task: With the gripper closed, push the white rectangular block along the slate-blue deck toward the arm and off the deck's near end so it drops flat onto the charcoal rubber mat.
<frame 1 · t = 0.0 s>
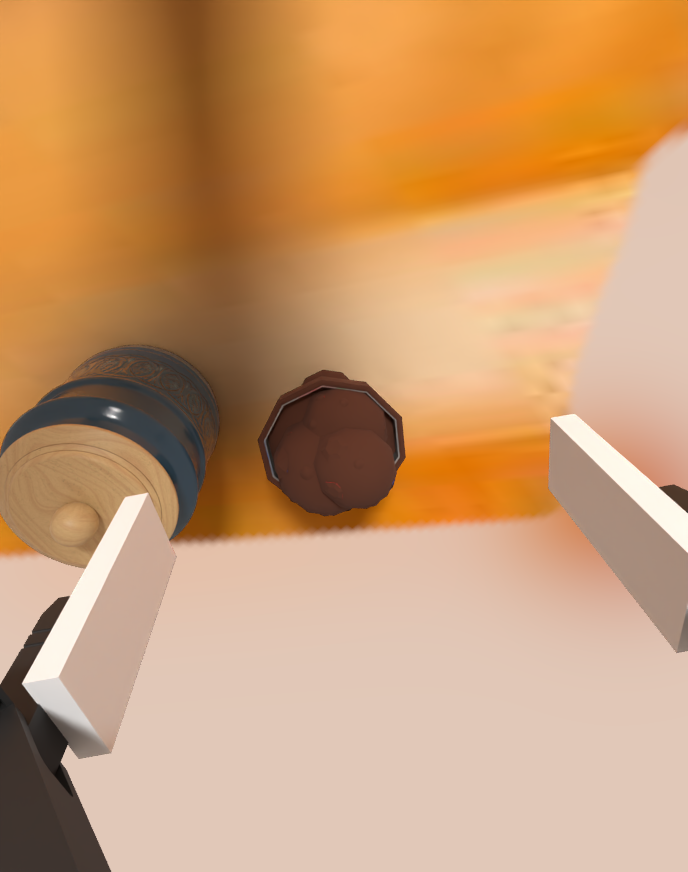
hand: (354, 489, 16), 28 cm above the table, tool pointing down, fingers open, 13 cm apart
ice cream bowl: (327, 397, 45), on the table
canister: (149, 410, 45), on the table
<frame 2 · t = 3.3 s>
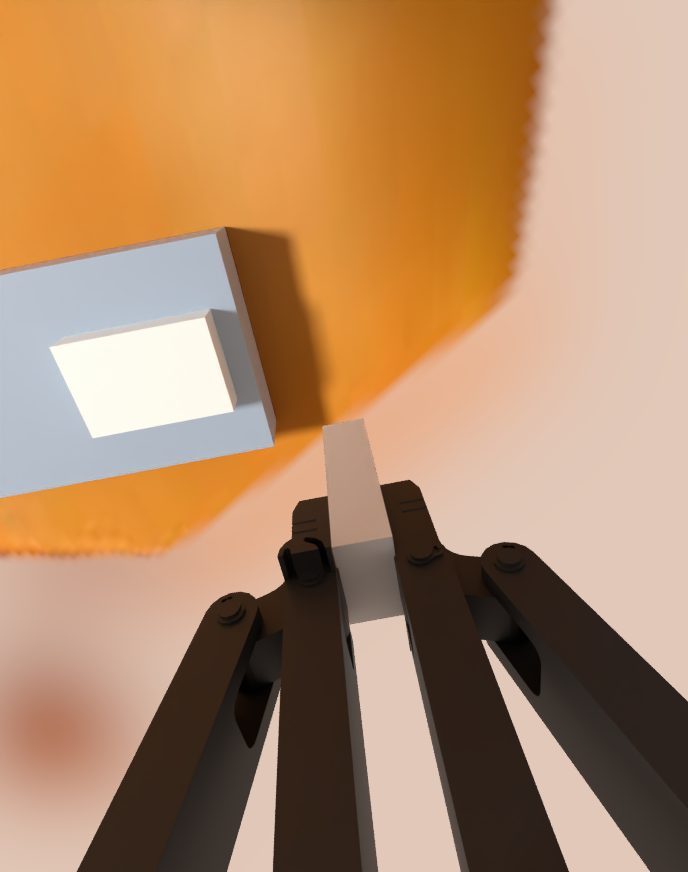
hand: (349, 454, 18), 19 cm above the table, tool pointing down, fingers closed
white rectangular block: (154, 369, 31), point 4 cm above the table, touching deck
deck: (99, 362, 35), on the table
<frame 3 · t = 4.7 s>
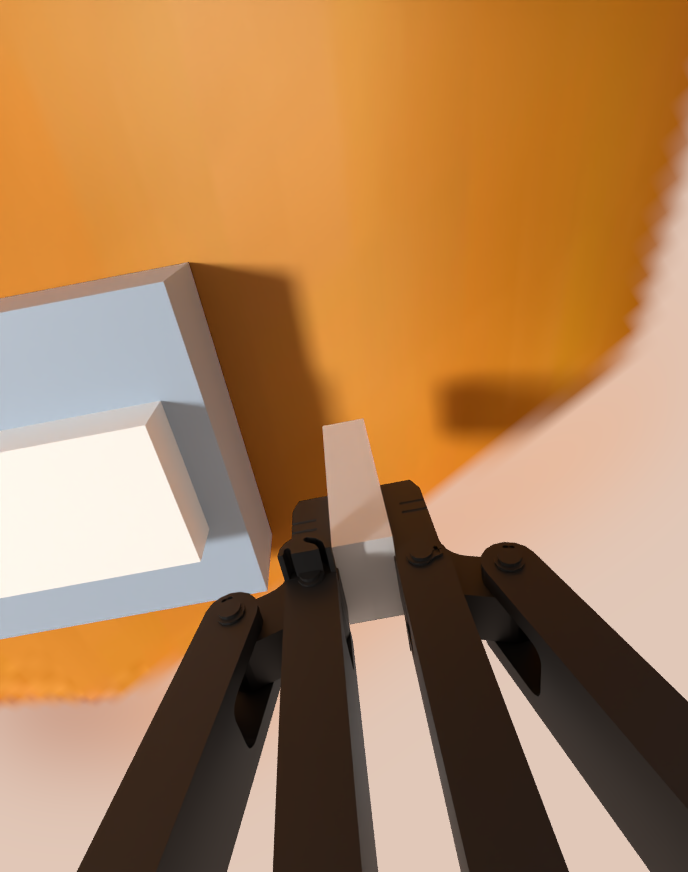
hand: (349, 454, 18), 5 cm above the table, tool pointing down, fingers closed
white rectangular block: (74, 490, 19), point 4 cm above the table, touching deck
deck: (5, 461, 23), on the table
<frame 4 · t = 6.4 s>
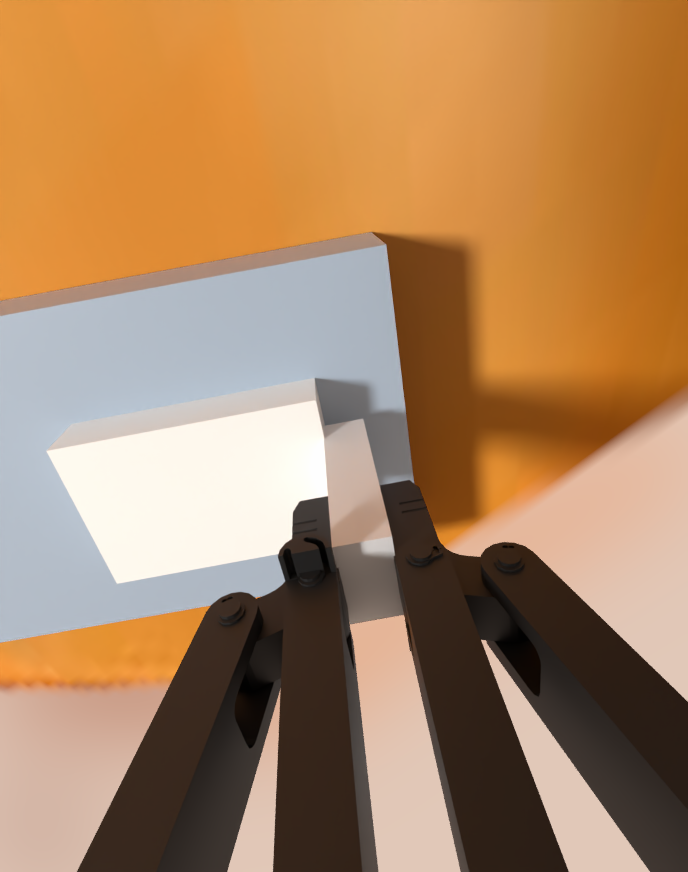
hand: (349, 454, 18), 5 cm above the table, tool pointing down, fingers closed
white rectangular block: (216, 470, 19), point 4 cm above the table, touching gripper
deck: (157, 436, 23), on the table
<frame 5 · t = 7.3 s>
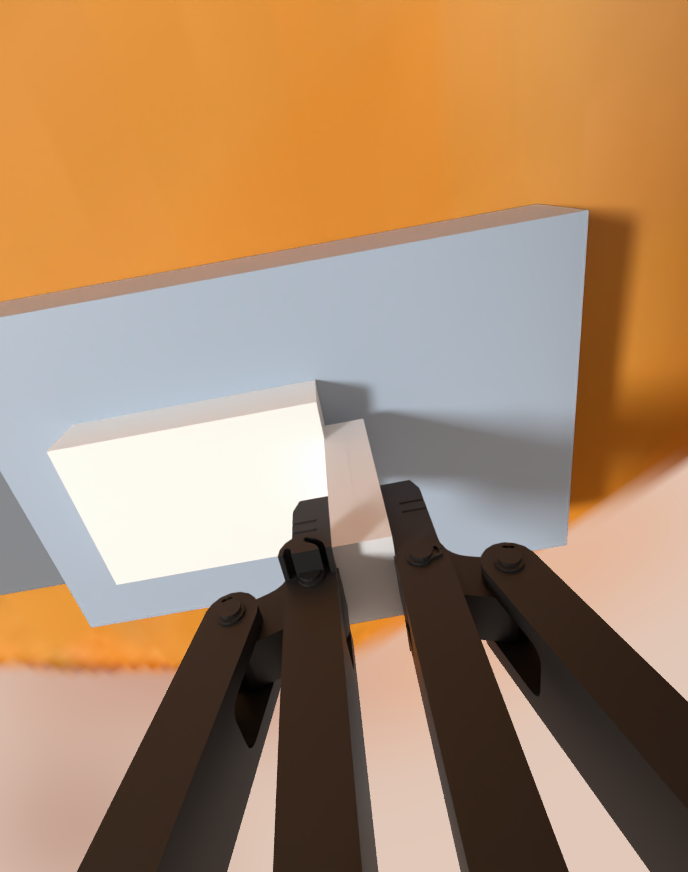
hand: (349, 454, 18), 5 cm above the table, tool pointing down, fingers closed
white rectangular block: (216, 471, 19), point 4 cm above the table, touching deck, gripper
deck: (297, 412, 23), on the table
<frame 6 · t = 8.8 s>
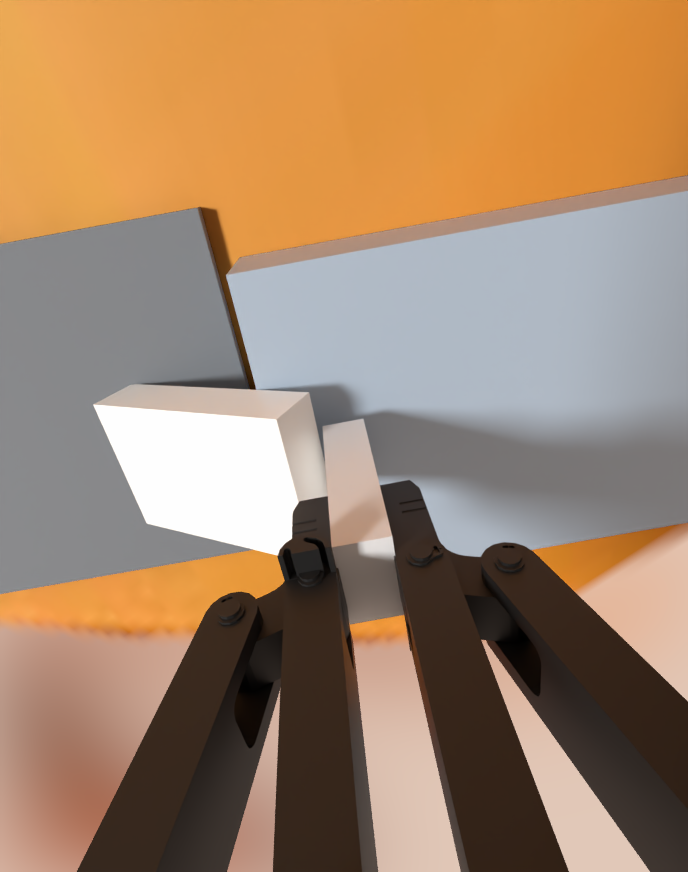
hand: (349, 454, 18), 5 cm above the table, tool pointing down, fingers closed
mat: (80, 429, 22), on the table
white rectangular block: (232, 454, 20), point 3 cm above the table, tilted 31°, touching mat
deck: (515, 372, 23), on the table
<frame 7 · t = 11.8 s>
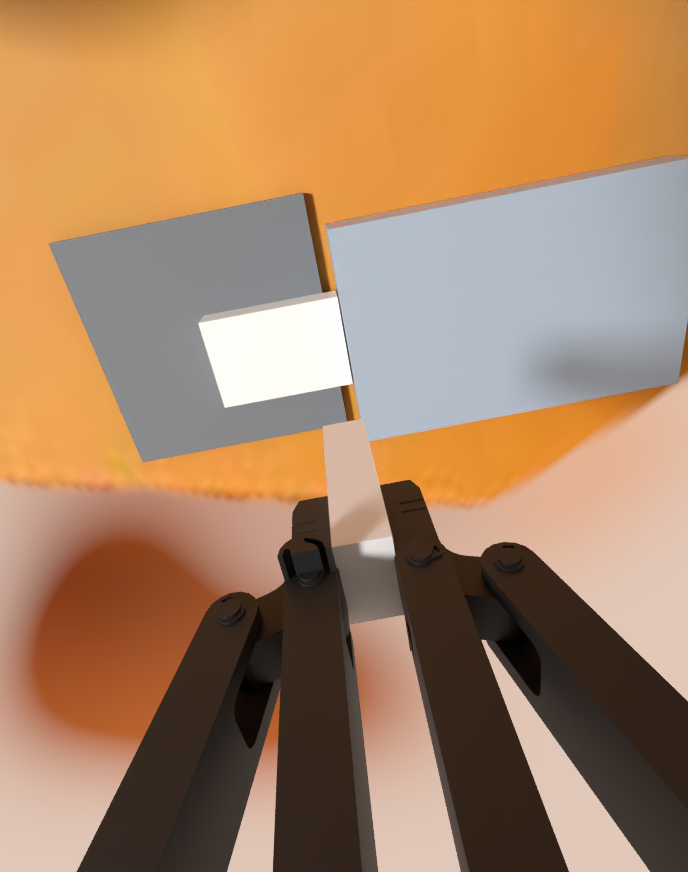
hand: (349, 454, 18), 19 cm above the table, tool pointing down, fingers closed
mat: (215, 340, 35), on the table
white rectangular block: (279, 345, 34), point 1 cm above the table, touching mat
deck: (497, 300, 35), on the table
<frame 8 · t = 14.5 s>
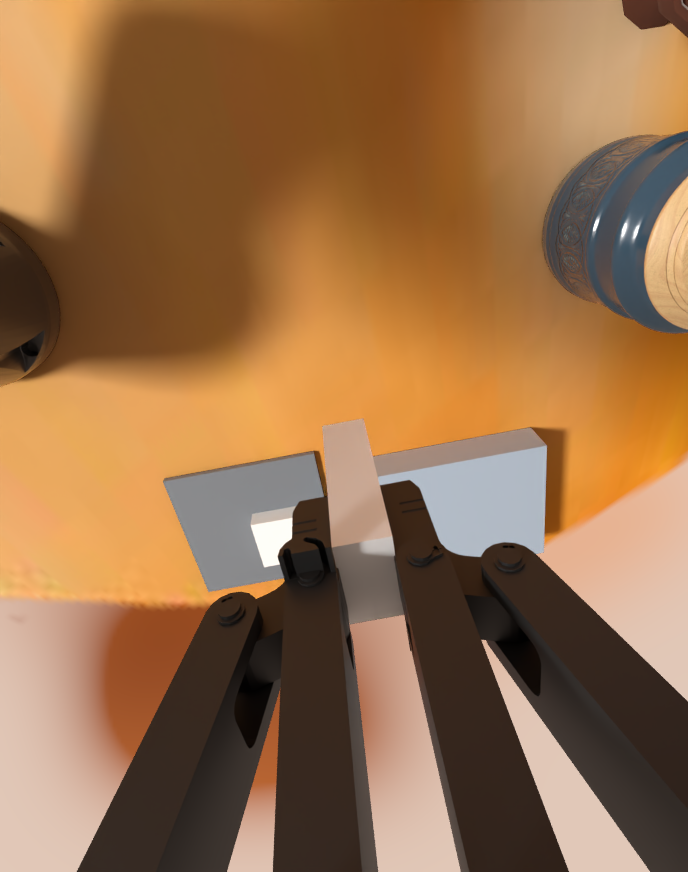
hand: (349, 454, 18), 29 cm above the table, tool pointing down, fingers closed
mat: (257, 524, 56), on the table
white rectangular block: (298, 528, 56), point 1 cm above the table, touching mat
deck: (433, 499, 56), on the table
canister: (610, 222, 43), on the table
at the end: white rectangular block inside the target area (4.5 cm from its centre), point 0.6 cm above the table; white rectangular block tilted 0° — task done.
